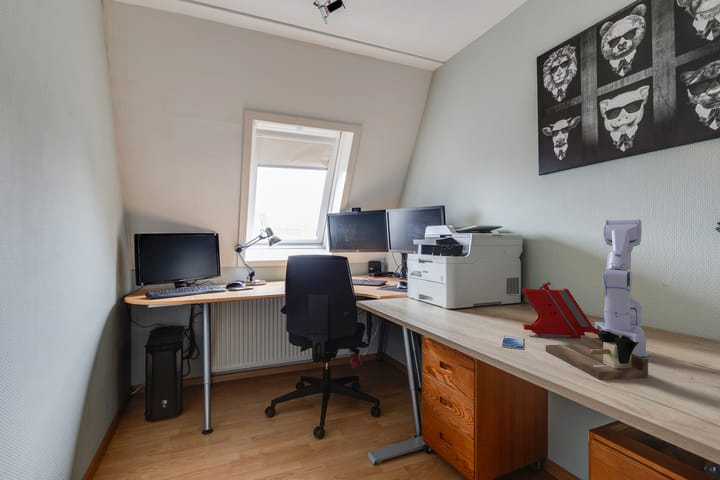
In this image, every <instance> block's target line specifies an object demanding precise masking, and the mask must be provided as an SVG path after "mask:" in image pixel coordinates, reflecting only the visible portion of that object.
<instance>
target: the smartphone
mask: <svg viewBox="0 0 720 480" xmlns="http://www.w3.org/2000/svg"><path fill="white" fill-rule="evenodd" d="M501 348H506V349H511V350H512V349H513V350H521V351H524V350H525V338H524V337H519V336H513V335H512V336H511V335H504V336H503V338H502V341H501Z"/></svg>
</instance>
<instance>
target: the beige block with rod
mask: <svg viewBox="0 0 720 480" xmlns="http://www.w3.org/2000/svg"><path fill="white" fill-rule="evenodd" d="M590 353H591V354H592V355H595V354H603V363H604V364H606V365H608V366H610V367H612V368H631V356H630V359H629V362H628V364H621V363H619V359H618V349H617V345H616V342H603V349H591V350H590Z"/></svg>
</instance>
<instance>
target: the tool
mask: <svg viewBox="0 0 720 480" xmlns="http://www.w3.org/2000/svg"><path fill="white" fill-rule="evenodd" d="M551 285H552V283H551V281H547V282H544V283H542V284H541V286H539V287H538V288H523V289H522V293H523V294H524V296H525V297H526V299H527V300H528V302H529V303H530V305H531V306H532V308H533V310H534V312H535V313H536V314H537V318H536V319H535V320H534V321H533V322H531V323H523V325H522V326H523V330H524V331H531V332H532V333H534V334H535V335H536V336H538V337H539V338H554V339H556V338H558V339H560V338H561V339H571V338H579V339H581V336H582V335H585V336H587V334H586V333H592V334H594V335H597V332H601V331H602V330H601V329H596V328H595V325H592V323H591V322H590V320H589V319H588V317H587V316H586V314H585V313H584V311H583V310H582V308H581V307H580V305H579V304H578V302H577V301H576V299H575V298H574V296H573V294H572V293H571V291H570V290H569V289H568V288H563V289H553V288H550V287H549V286H551Z"/></svg>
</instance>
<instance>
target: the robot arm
mask: <svg viewBox="0 0 720 480" xmlns="http://www.w3.org/2000/svg"><path fill="white" fill-rule="evenodd" d="M642 228H643V227H642V220H641V219H640V218H638V219H637V218H636V219H615V220H614V219H610V220H609V219H606V220H604V221H603V229H602V232H603V233H602V234H603V237H604V242H605V244H606V245H607V246H610V247H612V251H610V252H609V253H608V254H607V256H606V257H607V258H606V266H605V270H604V271H603V272H602V287H603V295H604V306H603V307H604V308H603V320H604V322H602V321H595V322H594V326H595V328H596V329H599V330H601V332H597V334H596V335H597V336H598V337H599V341H601V342H602V344H603V342H616V345H617V349H618V359H619V363H621V364H628V362H629V359H630V356H631V354H635V355H637V356H640V357H649V354H647V337H646V333H645V331H644V329H643V328H642V322H643V321H642V319H643V318H642V305H641V303H640V301H639V300H636V299H635V298H633V296H631V295H632V294H631V291H632V289H633V274H632V252H633V249H634V248H635V247H637V246H640V245H641V243H642Z"/></svg>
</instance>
